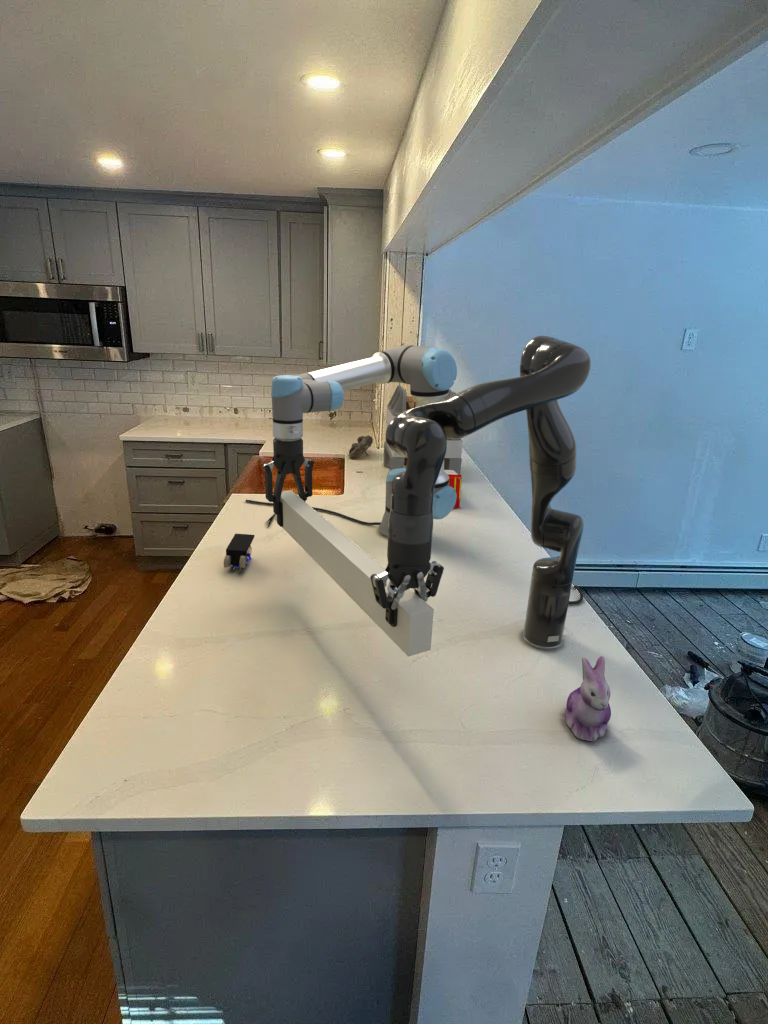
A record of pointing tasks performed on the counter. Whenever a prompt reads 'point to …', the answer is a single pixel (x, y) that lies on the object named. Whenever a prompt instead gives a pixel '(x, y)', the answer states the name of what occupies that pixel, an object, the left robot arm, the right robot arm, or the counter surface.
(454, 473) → the red striped box
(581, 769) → the counter surface
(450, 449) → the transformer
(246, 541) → the black wheeled rover
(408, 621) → the post
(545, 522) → the right robot arm
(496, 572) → the counter surface
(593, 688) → the figurine
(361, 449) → the fossil
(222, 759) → the counter surface
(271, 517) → the feather
